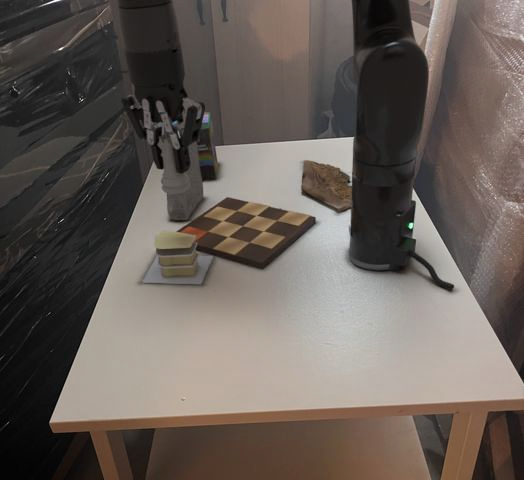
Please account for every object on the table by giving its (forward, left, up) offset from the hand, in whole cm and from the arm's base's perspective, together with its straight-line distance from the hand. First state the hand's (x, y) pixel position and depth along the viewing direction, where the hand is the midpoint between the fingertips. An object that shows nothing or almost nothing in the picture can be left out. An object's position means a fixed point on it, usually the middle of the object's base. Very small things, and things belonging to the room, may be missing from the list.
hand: (173, 168), depth 88 cm
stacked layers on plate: (+1, +1, -17) cm, 17 cm away
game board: (-1, -14, -17) cm, 22 cm away
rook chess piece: (0, 0, -3) cm, 3 cm away
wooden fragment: (-5, -38, -17) cm, 42 cm away
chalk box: (+24, -32, -17) cm, 43 cm away
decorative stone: (+14, -17, -17) cm, 28 cm away
